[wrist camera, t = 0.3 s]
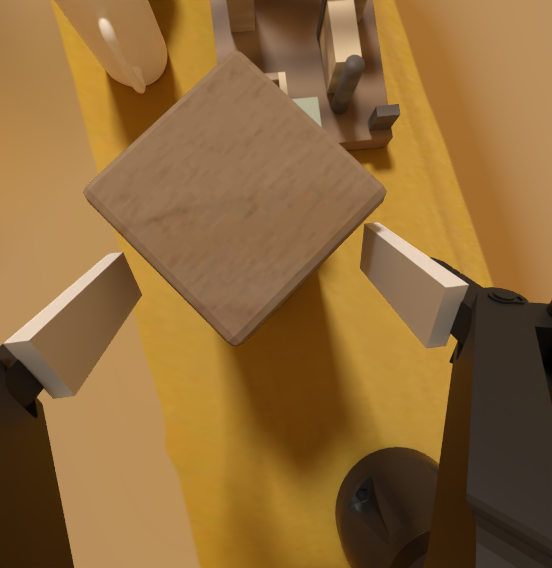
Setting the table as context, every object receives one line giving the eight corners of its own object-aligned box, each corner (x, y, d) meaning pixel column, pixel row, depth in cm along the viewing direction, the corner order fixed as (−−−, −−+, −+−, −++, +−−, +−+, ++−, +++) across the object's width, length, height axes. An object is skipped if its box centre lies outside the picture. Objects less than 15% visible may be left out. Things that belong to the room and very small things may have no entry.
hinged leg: (350, 92, 30) (364, 58, 26) (324, 95, 30) (334, 60, 26) (341, 29, 31) (354, -16, 26) (316, 31, 30) (324, -14, 26)
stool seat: (384, 147, 32) (437, 80, 22) (230, 162, 31) (213, 101, 21) (363, 1, 33) (405, -126, 23) (213, 13, 32) (188, -113, 22)
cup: (158, 20, 32) (108, -107, 22) (186, 106, 32) (147, 18, 22) (95, 37, 32) (14, -85, 22) (122, 124, 31) (52, 42, 21)
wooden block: (316, 261, 31) (395, 189, 11) (260, 319, 30) (234, 353, 10) (259, 206, 31) (235, 39, 11) (202, 262, 31) (72, 189, 11)
